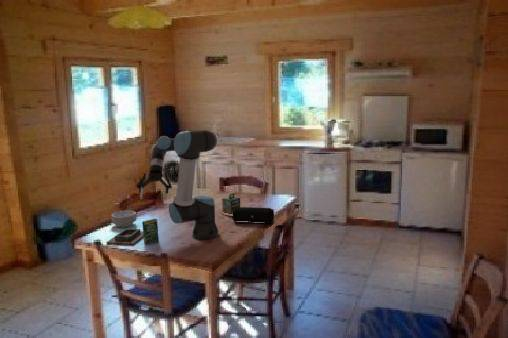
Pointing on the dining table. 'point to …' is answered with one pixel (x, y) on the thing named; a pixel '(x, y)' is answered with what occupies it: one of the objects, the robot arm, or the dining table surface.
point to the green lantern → (230, 203)
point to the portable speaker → (253, 214)
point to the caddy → (127, 237)
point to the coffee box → (150, 231)
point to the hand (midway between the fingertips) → (152, 198)
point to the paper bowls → (123, 218)
